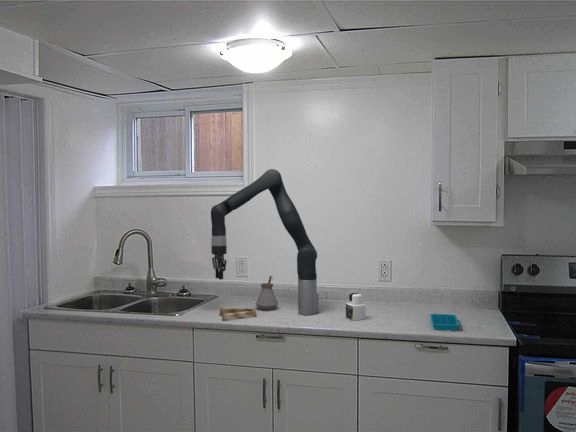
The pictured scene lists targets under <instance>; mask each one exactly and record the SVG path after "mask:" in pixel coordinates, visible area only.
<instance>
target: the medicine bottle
mask: <svg viewBox="0 0 576 432" xmlns="http://www.w3.org/2000/svg"><path fill="white" fill-rule="evenodd" d="M348 296H349V300H348V301H349V302H346V303H345V318H346V319H348V320H350V321H354V322H357V321H364V320H365V321H366V320H367V318H366V314H367V310H366V309H367V307H366V304H365V303H363V295H362V293H359V292H353V293H350V294H349V295H348Z"/></svg>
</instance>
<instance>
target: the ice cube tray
mask: <svg viewBox="0 0 576 432" xmlns="http://www.w3.org/2000/svg"><path fill="white" fill-rule="evenodd" d="M429 316H430V322H431V323H430V324H431V325H432V328H433V330H435V331H446V330H453V331H452V332H457V331H458V327H460V323H459V319H458V317H457V315H456V314H447V313H445V314H442V313H430V315H429Z"/></svg>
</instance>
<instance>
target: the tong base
mask: <svg viewBox="0 0 576 432" xmlns="http://www.w3.org/2000/svg"><path fill="white" fill-rule="evenodd" d="M251 309H252V311H244V312H236V313H229V314H222V315H221V320H222V321H223V322H226V321H233V320H243V319H249V318H256V317H257V308H251Z"/></svg>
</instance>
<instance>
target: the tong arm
mask: <svg viewBox="0 0 576 432" xmlns="http://www.w3.org/2000/svg"><path fill="white" fill-rule="evenodd" d="M252 309H253V308H248V307H247V308H246V307H245V308H241V307H240V308H239V307H237V308H226V307H225V308H219V315H220V316H222V314H229V313H236V312H244V311H252Z"/></svg>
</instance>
